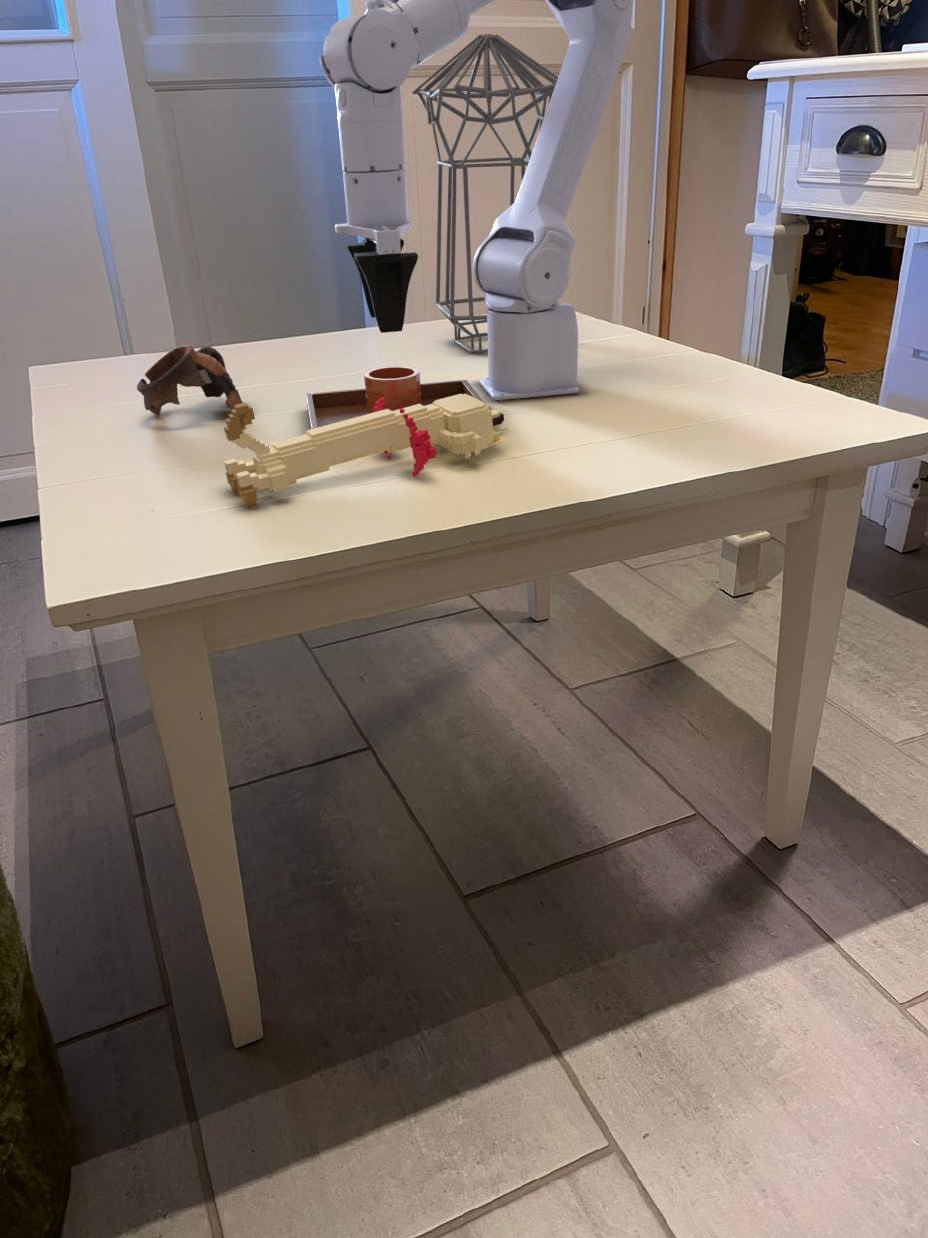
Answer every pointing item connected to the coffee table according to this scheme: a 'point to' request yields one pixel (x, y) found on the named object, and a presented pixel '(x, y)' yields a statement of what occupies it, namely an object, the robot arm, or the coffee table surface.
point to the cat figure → (359, 441)
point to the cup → (392, 387)
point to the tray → (353, 404)
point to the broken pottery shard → (187, 377)
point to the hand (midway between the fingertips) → (385, 323)
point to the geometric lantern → (513, 60)
